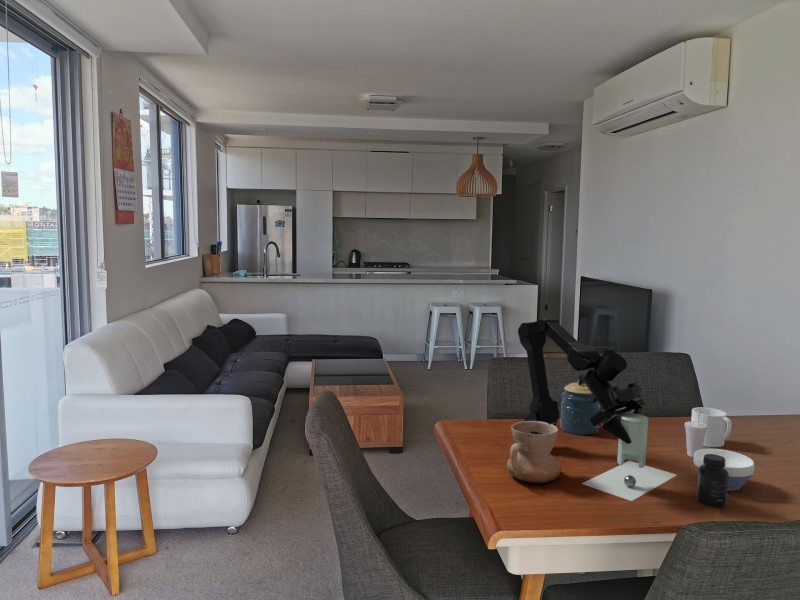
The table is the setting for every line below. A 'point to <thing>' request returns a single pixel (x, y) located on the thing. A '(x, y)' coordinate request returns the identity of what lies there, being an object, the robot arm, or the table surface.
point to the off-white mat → (644, 476)
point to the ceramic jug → (533, 452)
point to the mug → (713, 425)
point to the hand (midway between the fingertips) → (637, 440)
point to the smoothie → (695, 436)
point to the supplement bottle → (712, 481)
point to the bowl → (730, 466)
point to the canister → (578, 409)
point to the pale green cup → (633, 439)
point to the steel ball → (629, 481)
